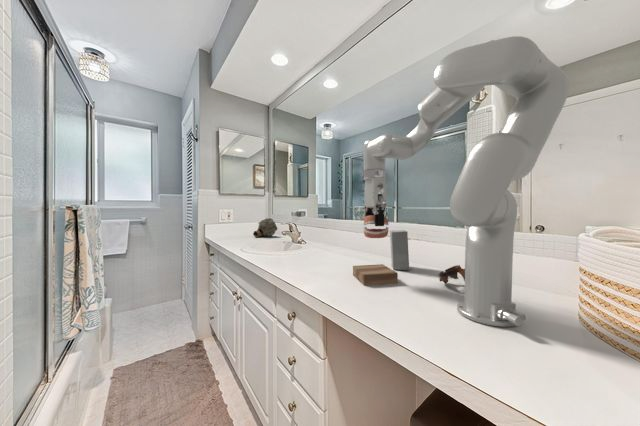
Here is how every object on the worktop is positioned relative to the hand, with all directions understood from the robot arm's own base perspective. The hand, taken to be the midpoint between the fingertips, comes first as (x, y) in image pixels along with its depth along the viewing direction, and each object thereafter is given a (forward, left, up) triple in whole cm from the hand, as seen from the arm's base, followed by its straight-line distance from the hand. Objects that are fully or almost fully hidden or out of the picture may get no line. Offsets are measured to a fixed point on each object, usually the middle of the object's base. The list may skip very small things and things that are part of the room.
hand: (374, 224), depth 89 cm
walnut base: (0, 0, -20) cm, 20 cm away
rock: (+121, +45, -20) cm, 130 cm away
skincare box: (+12, -16, -20) cm, 28 cm away
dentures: (-1, 0, -5) cm, 5 cm away
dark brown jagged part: (-13, -24, -20) cm, 34 cm away
